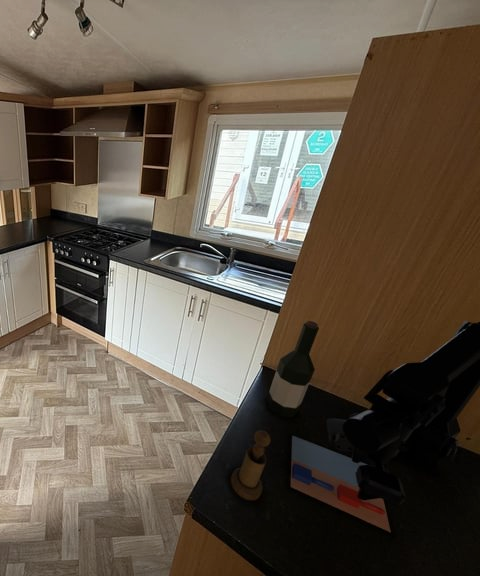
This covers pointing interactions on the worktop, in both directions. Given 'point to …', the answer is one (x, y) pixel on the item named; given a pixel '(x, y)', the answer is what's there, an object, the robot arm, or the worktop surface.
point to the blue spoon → (307, 477)
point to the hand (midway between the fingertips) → (357, 479)
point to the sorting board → (333, 479)
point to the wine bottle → (293, 374)
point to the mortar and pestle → (251, 469)
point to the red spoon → (355, 499)
